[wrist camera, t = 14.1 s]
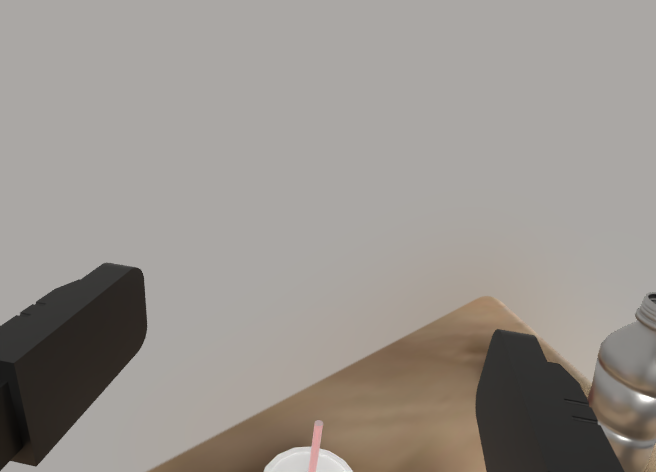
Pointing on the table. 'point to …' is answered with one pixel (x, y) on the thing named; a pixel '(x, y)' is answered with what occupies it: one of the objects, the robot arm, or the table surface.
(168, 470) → the table surface
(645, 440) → the plastic bottle
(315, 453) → the beverage cup
